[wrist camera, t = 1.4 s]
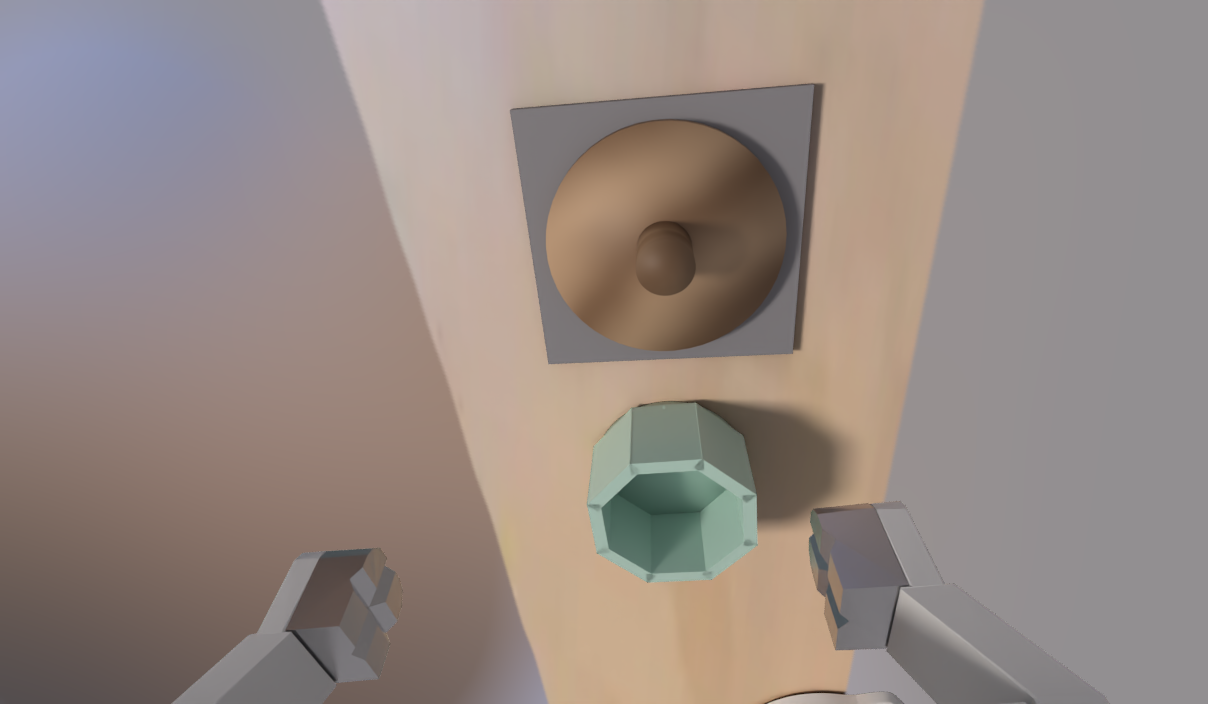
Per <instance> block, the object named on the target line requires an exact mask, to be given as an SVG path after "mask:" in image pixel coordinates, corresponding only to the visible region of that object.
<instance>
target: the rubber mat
mask: <svg viewBox="0 0 1208 704" xmlns="http://www.w3.org/2000/svg"><path fill="white" fill-rule="evenodd" d="M813 93H814V84H801V85H789V86H777V87H765V88H754V89H742V90H730V91H718V92H706V93H694V94H682V95H670V96H659V97H647V98H635V99H623V100H611V101H599V102H587V103H576V104H564V105H552V106H540V107H528V108H516V109H511V110H510V114H511V120H512V127H513V133H514V140H515V147H516V153H517V160H518V166H519V173H520V179H521V186H522V193H523V199H524V206H525V212H526V219H527V225H528V232H529V238H530V245H531V252H532V258H533V265H534V271H535V278H536V284H537V291H538V298H539V304H540V311H541V317H542V324H543V330H544V337H545V344H546V350H547V357H548V363H549V364H562V363H585V362H609V361H632V360H655V359H679V358H702V357H725V356H749V355H772V354H793V342H794V330H795V317H796V305H797V292H798V280H799V268H800V255H801V243H802V230H803V218H804V205H805V193H806V180H807V168H808V155H809V143H810V130H811V118H812V106H813ZM659 119H679V120H688V121H693V122H698V123H703V124H705V125H708V126H711V127H713V128H716V129H719V130H721V131H722V132H724V133H726V134H728V135H730V136H732V137H733V138H735V139H736V140H737V141H739V142H740V143H741V144H743V145H744V146H746V147H747V148H748V149H749V150H750V151H751V152H752V153H753V154H754V155H755V156H756V157H757V158H758V160H759V161H760V162H761V164H762V165H763V166H764V168H765V169H766V170H767V172H768V173H769V175H770V176H771V178H772V180H773V182H774V184H775V186H776V187H777V190H778V192H779V195H780V198H781V201H782V203H783V208H784V213H785V218H786V232H787V236H786V248H785V254H784V258H783V263H782V266H781V269H780V271H779V274H778V277H777V279H776V281H775V283H774V285H773V287H772V289H771V291H770V292H769V294H768V295H767V297H766V298H765V300H764V301H763V303H762V304H761V305H760V306H759V307H758V308H757V310H756V311H755V312H754V313H753V314H752V315H751V316H750V317H749V318H748V319H746V320H745V321H744V322H743V323H742V324H741V325H739V326H738V327H736V328H735V329H734V330H732V331H731V332H729V333H727V334H726V335H724V336H722V337H720V338H718V339H716V340H714V341H711V342H709V343H706V344H703V345H700V346H696V347H693V348H689V349H683V350H676V351H651V350H643V349H638V348H632V347H629V346H626V345H623V344H620V343H617V342H615V341H613V340H610V339H608V338H606V337H604V336H603V335H601V334H599V333H598V332H596V331H594V330H593V329H592V328H590V327H589V326H588V325H587V324H585V323H584V322H583V321H582V320H581V319H580V318H579V317H578V316H577V315H576V314H575V313H574V312H573V311H572V310H571V308H570V307H569V306H568V305H567V303H566V302H565V301H564V299H563V297H562V296H561V294H560V292H559V290H558V289H557V287H556V284H555V282H554V280H553V277H552V275H551V271H550V267H549V264H548V259H547V251H546V228H547V221H548V215H549V212H550V208H551V205H552V201H553V199H554V197H555V195H556V192H557V190H558V188H559V186H560V184H561V182H562V180H563V179H564V177H565V176H566V174H567V172H568V171H569V169H570V168H571V167H572V166H573V164H574V163H575V162H576V161H577V160H578V158H579V157H580V156H581V155H582V154H583V153H585V152H586V151H587V150H588V149H589V148H590V147H591V146H592V145H594V144H595V143H597V142H598V141H599V140H601V139H602V138H604V137H605V136H607V135H609V134H611V133H613V132H615V131H617V130H619V129H621V128H624V127H627V126H630V125H633V124H635V123H640V122H645V121H650V120H659Z"/></svg>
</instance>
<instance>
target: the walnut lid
mask: <svg viewBox="0 0 1208 704" xmlns="http://www.w3.org/2000/svg"><path fill="white" fill-rule="evenodd" d="M786 236H787V232H786V218H785V213H784V208H783V203H782V201H781V198H780V195H779V192H778V190H777V187H776V186H775V184H774V182H773V180H772V178H771V176H770V175H769V173H768V172H767V170H766V169H765V168H764V166H763V165H762V164H761V162H760V161H759V160H758V158H757V157H756V156H755V155H754V154H753V153H752V152H751V151H750V150H749V149H748V148H747V147H746V146H744V145H743V144H741V143H740V142H739V141H737V140H736V139H735V138H733V137H732V136H730V135H728V134H726V133H724V132H722V131H721V130H719V129H716V128H713V127H711V126H708V125H705V124H703V123H698V122H693V121H688V120H679V119H659V120H650V121H645V122H640V123H635V124H633V125H630V126H627V127H624V128H621V129H619V130H617V131H615V132H613V133H611V134H609V135H607V136H605V137H604V138H602V139H601V140H599V141H598V142H597V143H595V144H594V145H592V146H591V147H590V148H589V149H588V150H587V151H586V152H585V153H583V154H582V155H581V156H580V157H579V158H578V160H577V161H576V162H575V163H574V164H573V166H572V167H571V168H570V169H569V171H568V172H567V174H566V176H565V177H564V179H563V180H562V182H561V184H560V186H559V188H558V190H557V192H556V195H555V197H554V199H553V201H552V205H551V208H550V212H549V215H548V221H547V228H546V251H547V259H548V264H549V267H550V271H551V275H552V277H553V280H554V282H555V284H556V287H557V289H558V290H559V292H560V294H561V296H562V297H563V299H564V301H565V302H566V303H567V305H568V306H569V307H570V308H571V310H572V311H573V312H574V313H575V314H576V315H577V316H578V317H579V318H580V319H581V320H582V321H583V322H584V323H585V324H587V325H588V326H589V327H590V328H592V329H593V330H594V331H596V332H598V333H599V334H601V335H603V336H604V337H606V338H608V339H610V340H613V341H615V342H617V343H620V344H623V345H626V346H629V347H632V348H638V349H643V350H651V351H676V350H683V349H689V348H693V347H696V346H700V345H703V344H706V343H709V342H711V341H714V340H716V339H718V338H720V337H722V336H724V335H726V334H727V333H729V332H731V331H732V330H734V329H735V328H736V327H738V326H739V325H741V324H742V323H743V322H744V321H745V320H746V319H748V318H749V317H750V316H751V315H752V314H753V313H754V312H755V311H756V310H757V308H758V307H759V306H760V305H761V304H762V303H763V301H764V300H765V298H766V297H767V295H768V294H769V292H770V291H771V289H772V287H773V285H774V283H775V281H776V279H777V277H778V274H779V271H780V269H781V266H782V263H783V258H784V254H785V248H786Z"/></svg>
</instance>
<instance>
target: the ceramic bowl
mask: <svg viewBox="0 0 1208 704" xmlns="http://www.w3.org/2000/svg"><path fill="white" fill-rule="evenodd" d="M587 507H588V511H589V516H590V521H591V526H592V531H593V536H594V541H595V546H596V551H597V554H599V555H601V556H603V557H604V558H606V559H608V560H610V561H611V562H613V563H615V564H616V565H618V566H620V567H622V568H623V569H625V570H627V571H629V572H630V573H632V574H634V575H636V576H637V577H639V578H641V579H643V580H644V581H646V582H669V581H692V580H712V579H713V578H715V577H716V576H717V575H719V574H720V573H721V572H723V571H724V570H725V569H727V568H728V567H729V566H731V565H732V564H733V563H735V562H736V561H737V560H739V559H740V558H741V557H743V556H744V555H745V554H747V553H748V552H749V551H751V550H752V549H753V548H754V547H756V546H757V545H758V544H757V493H756V489H755V484H754V480H753V476H752V471H751V467H750V463H749V458H748V454H747V450H746V445H745V441H744V437H743V435H742V434H740V433H739V432H737V431H736V430H734V429H733V428H732V427H731V426H730V425H729V424H728V423H727V422H726V421H725V420H724V419H723V418H721V417H720V416H719V415H717V414H715V413H714V412H712V411H710V410H708V409H706V408H704V407H701V406H700V405H698V404H697V403H696V402H695V403H685V402H675V401H669V402H657V403H651V404H647V405H644V406H641V407H634V408H631V409H630V410H629V411H628V412H627V413H626V414H624V415H623V416H621V417H620V418H619V419H618V420H616V421H615V422H614V423H613V424H612V425H611V426H610V428H609V429H608V430H607V432H606V433H605V435H604V436H603V438H602V439H601V440H600V441H599V442H598V443H597V444H596V445H595V446H594V449H593V458H592V466H591V474H590V483H589V491H588V500H587Z"/></svg>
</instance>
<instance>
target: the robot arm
mask: <svg viewBox="0 0 1208 704" xmlns="http://www.w3.org/2000/svg"><path fill="white" fill-rule="evenodd" d="M810 523H811V526H812V529H813V533H814V534H813V535H812V536H811V537H810V538H809V555H810V564H811V569H812V573H813V577H814V581H815V584H816V588H817V590H818V591H819V592H820V593H821V594H822V595H823V596H824V597H826V598H825V610H824V615H825V618H826V621H827V624H828V628H829V631H830V634H831V637H832V641H833V644H834V647H835V650H856V649H884V648H887V652H888V653H889V654H890V655H891V656H892V657H893V658H894V659H895V660H896V661H897V663H899V664H900V666H901V667H902V668H903V669H904V670H905V671H906V672H907V673H908V674H909V675H910V676H911V677H912V678H913V679H914V680H915V681H916V682H917V683H918V684H919V685H920V687H921V688H922V689H923V690H924V691H925V692H926V693H927V694H928V695H929V696H930V697H931V698H932V699H933V700H934V701H935V702H936V703H937V704H1110V703H1109V702H1108V700H1107V699H1106V697H1105V696H1104V695H1103V694H1102V693H1100V692H1099V691H1097V690H1096V689H1095V688H1094V687H1092V686H1091V685H1090V684H1088V683H1087V682H1086V681H1084V680H1083V679H1081V678H1080V677H1079V676H1077V675H1076V674H1075V673H1073V672H1072V671H1071V670H1069V669H1068V668H1067V667H1065V666H1064V665H1063V664H1061V663H1060V662H1059V661H1057V660H1056V659H1055V658H1053V657H1052V656H1051V655H1049V654H1048V653H1047V652H1045V651H1044V650H1043V649H1041V648H1040V647H1039V646H1037V645H1036V644H1035V643H1033V642H1032V641H1031V640H1029V639H1028V638H1027V637H1025V636H1024V635H1023V634H1021V633H1020V632H1018V631H1017V630H1016V629H1014V628H1013V627H1012V626H1010V625H1009V624H1008V623H1006V622H1005V621H1004V620H1002V619H1001V618H1000V617H998V616H997V615H996V614H994V613H993V612H992V611H990V610H989V609H988V608H986V607H985V606H984V605H982V604H981V603H980V602H978V601H977V600H975V599H974V598H973V597H972V596H970V595H969V594H967V593H966V592H965V591H964V590H962V589H961V588H959V587H958V586H957V585H956V584H954V583H953V584H945V583H944V581H943V579H942V577H941V575H940V573H939V571H938V569H937V567H936V565H935V563H934V561H933V559H932V557H931V556H930V553H929V552H928V549H927V547H926V546H925V543H924V542H923V540H922V537H921V536H920V533H919V531H918V529H917V528H916V525H915V523H914V522H913V520H912V518H911V516H910V514H909V512H908V510H907V508H906V506H905V505H904V504H903V503H902V502H901V501H895V502H884V503H874V504H868V503H866V504H856V505H846V506H836V507H826V508H817V509H813V510H812V512H811V518H810ZM386 560H387V557H386V556H385V554H384V553H383V551H382V550H381V548H369V549H354V550H338V551H321V552H309V553H302V554H301V555H300V556H299V557H298V558H297V559H296V560H295V561H294V562H293V564H292V566H291V568H290V570H289V572H288V574H287V576H286V578H285V580H284V582H283V584H282V586H281V588H280V590H279V591H278V594H277V595H276V597H275V599H274V602H273V603H272V605H271V607H270V609H269V611H268V613H267V615H266V617H265V619H264V621H263V623H262V625H261V627H260V629H259V630H258V633H257V634H250V635H248V636H247V637H246V638H245V639H244V640H243V641H242V642H241V643H239V645H237V646H236V647H235V648H234V649H233V650H232V651H230V652H229V653H228V654H227V655H226V656H225V657H224V658H223V659H222V660H221V661H219V662H218V663H217V664H216V665H215V666H214V667H213V668H211V669H210V670H209V671H208V672H207V673H206V674H205V675H203V677H201V678H200V679H199V680H198V681H197V682H196V683H194V684H193V685H192V686H191V687H190V688H189V689H188V690H187V691H185V692H184V693H183V694H182V695H181V696H180V697H179V698H178V699H176V700H175V701H174V702H173V703H172V704H322V703H323V702H324V701H325V699H326V698H327V697H328V695H329V694H330V693H331V692H332V691H333V689H334V688H335V687H336V683H339V682H349V681H360V680H371V679H379V677H380V674H381V671H382V668H383V665H384V662H385V659H386V655H387V652H388V649H389V646H390V642H389V639H388V636H387V634H386V632H387V631H388V630H389V629H390V628H391V627H392V626H393V625H394V624H395V623H396V622H397V621H398V617H399V614H400V610H401V607H402V592H403V590H402V586H401V581H400V579H399V577H398V575H397V573H396V572H395V571H393V570H391V569H389V568H388V567H386V566H385V563H386ZM768 704H904V703H903V702H902V701H901V700H900V699H899V698H897V697H896V696H895V695H894V694H892V693H890V692H872V693H864V694H858V695H843V694H831V693H811V694H801V695H795V696H790V697H786V698H782V699H778V700H775V701H773V702H770V703H768Z"/></svg>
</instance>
